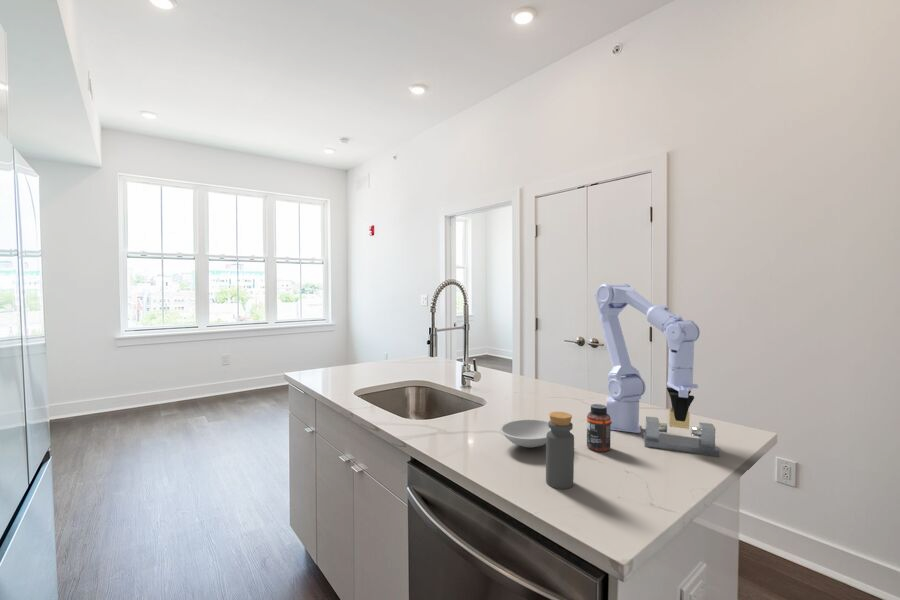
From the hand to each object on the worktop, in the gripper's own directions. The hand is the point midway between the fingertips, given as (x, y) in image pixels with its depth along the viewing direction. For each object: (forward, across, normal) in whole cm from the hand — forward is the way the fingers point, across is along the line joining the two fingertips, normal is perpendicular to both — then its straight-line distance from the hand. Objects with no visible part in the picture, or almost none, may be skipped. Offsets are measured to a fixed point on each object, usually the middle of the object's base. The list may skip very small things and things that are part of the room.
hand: (679, 418), depth 110 cm
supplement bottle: (+9, -8, +20) cm, 23 cm away
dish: (+9, -14, +36) cm, 40 cm away
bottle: (+8, -32, +26) cm, 42 cm away
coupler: (+2, 0, 0) cm, 2 cm away
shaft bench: (+8, +2, 0) cm, 9 cm away
